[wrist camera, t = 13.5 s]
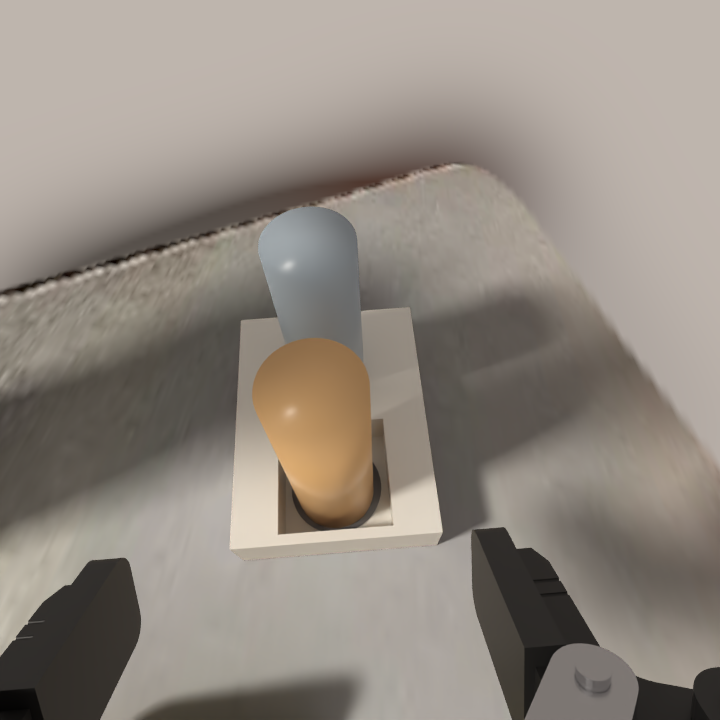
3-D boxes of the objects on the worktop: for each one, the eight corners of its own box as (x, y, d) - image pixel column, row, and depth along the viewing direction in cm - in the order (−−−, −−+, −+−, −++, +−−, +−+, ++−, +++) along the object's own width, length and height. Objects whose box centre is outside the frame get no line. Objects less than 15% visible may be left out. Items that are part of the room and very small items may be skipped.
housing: (436, 544, 27) (474, 464, 17) (243, 560, 27) (153, 490, 16) (407, 334, 34) (420, 177, 23) (251, 346, 34) (190, 194, 23)
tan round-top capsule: (288, 516, 28) (233, 425, 17) (312, 446, 30) (276, 327, 19) (361, 537, 27) (350, 456, 17) (381, 464, 29) (383, 351, 19)
